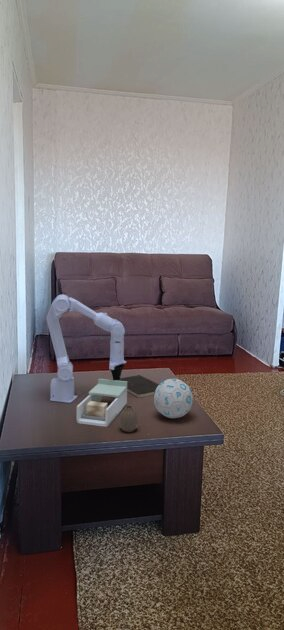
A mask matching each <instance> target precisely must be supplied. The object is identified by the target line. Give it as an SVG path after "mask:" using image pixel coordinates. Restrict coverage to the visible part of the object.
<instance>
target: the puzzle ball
mask: <svg viewBox="0 0 284 630" xmlns="http://www.w3.org/2000/svg"><path fill="white" fill-rule="evenodd" d="M158 384H159V385H158V387H157V388H156V390H155V394H154V395H153V402H154V403H153V404H154V407H155V408H156V410H157V411H158V413H160V414H161V415H163V416H164V417H166V418H168V419H180V418H182V417H184V416H185V415H186V414H188V412H189V411H190V410H191V409H192V406H193V401H194V396H193V392H192V389H191V388H190V386H189V385H188V384H187V383H186V382H185V381H183V380H182V379H178V378H168V379H166V380H163V381H161V382H160V383H158Z"/></svg>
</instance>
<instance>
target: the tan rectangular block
mask: <svg viewBox="0 0 284 630" xmlns="http://www.w3.org/2000/svg"><path fill="white" fill-rule="evenodd" d="M108 404H109V403H108V402H101V401H100V402H94V401H90V402H89V403H88V404H87V405H86V416H94V417H102V418H105V411H106V409H107V408H108V407H109V405H108Z"/></svg>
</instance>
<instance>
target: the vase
mask: <svg viewBox="0 0 284 630" xmlns="http://www.w3.org/2000/svg"><path fill="white" fill-rule="evenodd" d="M118 422H119V423H118V425H119V427H120V429H121V430H122V431H124V432H126V433H131V432H134V431H135V430H137V427H138V424H139V416H138V413H137V411H135V409H134V407H133V405H125V406H124V409H122V410H121V413H119V418H118Z"/></svg>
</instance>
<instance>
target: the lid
mask: <svg viewBox="0 0 284 630" xmlns="http://www.w3.org/2000/svg"><path fill="white" fill-rule="evenodd" d="M126 389H127V381H118V380H113V379H108V378H107V379H106V378H98V379H97V384H96V385H95V386H94V387H92V389H90V390H89V391H88V395H90V394H92V395H101V397H110V398H111V397H112V398H117V397H120V396H121V394H122V393H123V392H124V391H125V390H126Z"/></svg>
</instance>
